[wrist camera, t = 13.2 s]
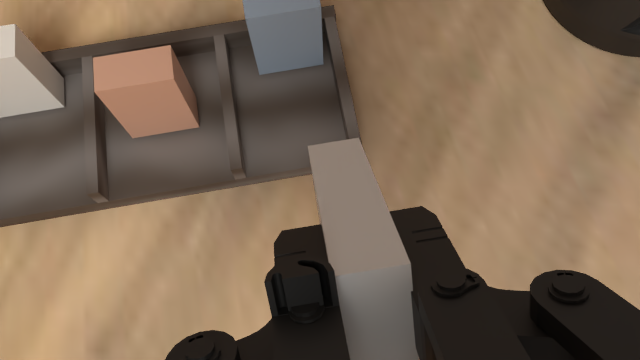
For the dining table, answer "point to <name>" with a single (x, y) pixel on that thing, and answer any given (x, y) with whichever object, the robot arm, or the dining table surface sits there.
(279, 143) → the grey compartment tray
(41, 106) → the key offwhite
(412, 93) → the dining table surface
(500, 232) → the dining table surface
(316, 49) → the key slate
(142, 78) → the key terracotta
